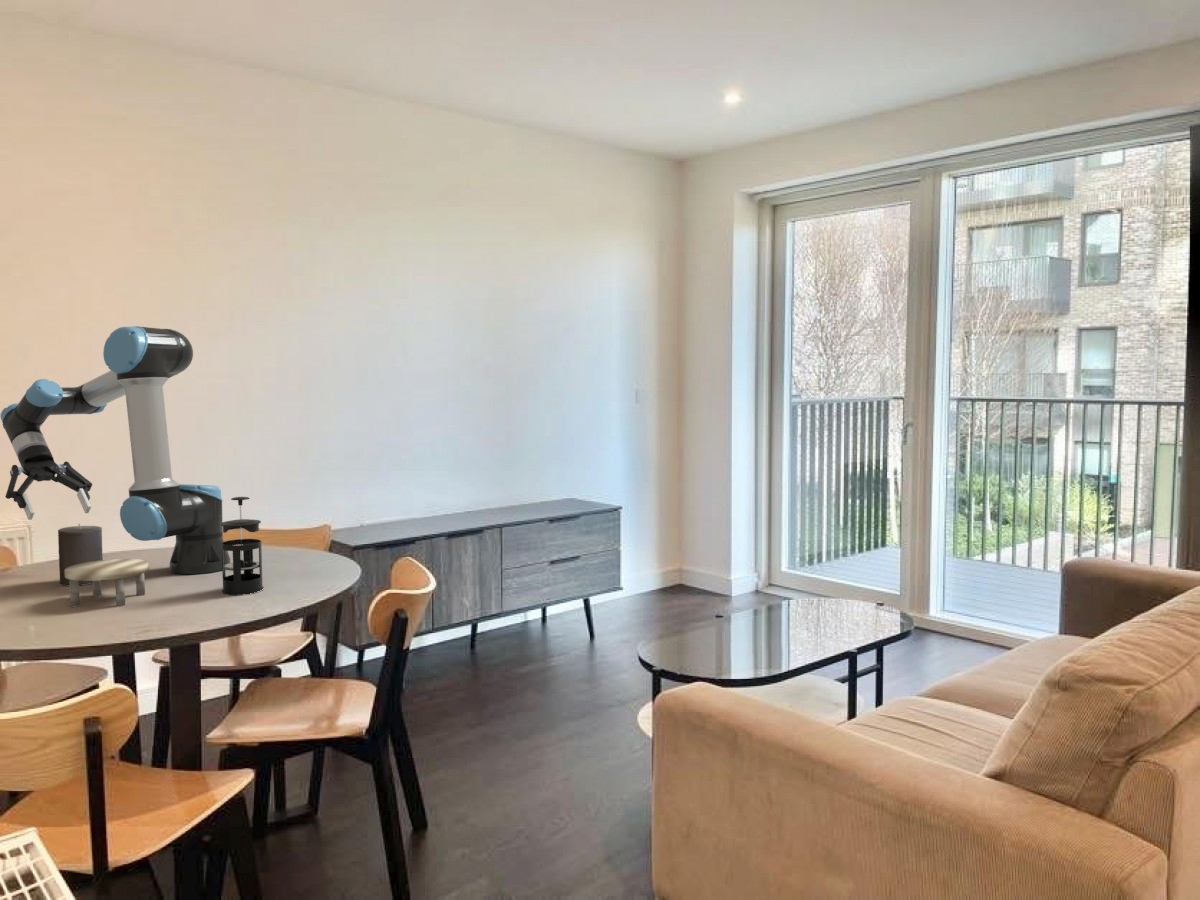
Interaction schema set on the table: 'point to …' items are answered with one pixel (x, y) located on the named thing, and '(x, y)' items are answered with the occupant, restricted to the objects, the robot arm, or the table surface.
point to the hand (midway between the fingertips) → (60, 513)
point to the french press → (242, 558)
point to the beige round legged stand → (106, 576)
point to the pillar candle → (78, 548)
